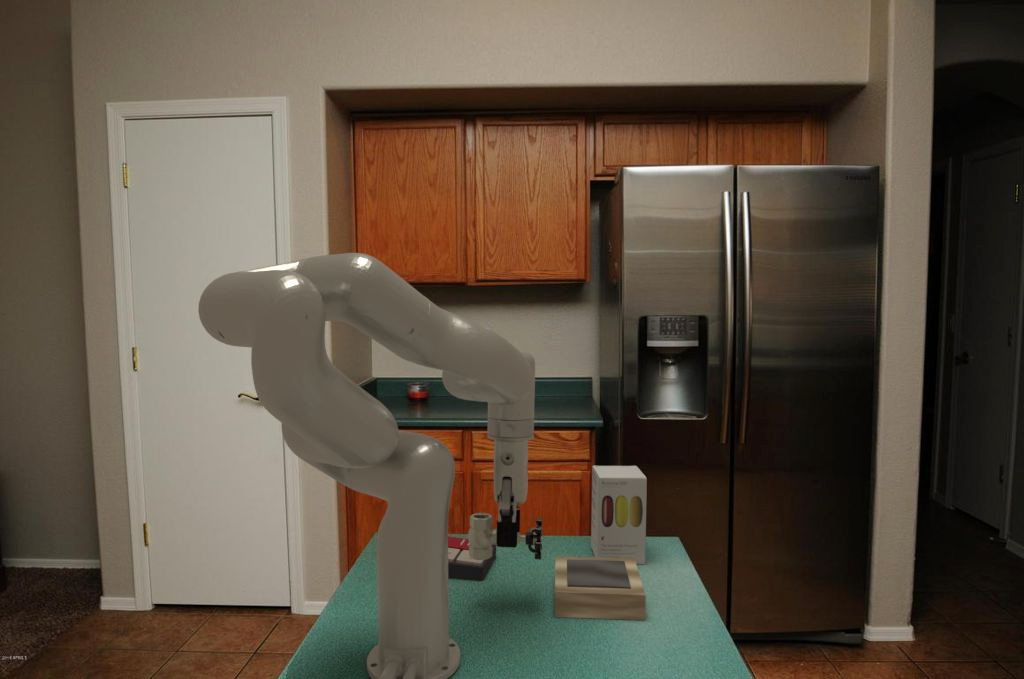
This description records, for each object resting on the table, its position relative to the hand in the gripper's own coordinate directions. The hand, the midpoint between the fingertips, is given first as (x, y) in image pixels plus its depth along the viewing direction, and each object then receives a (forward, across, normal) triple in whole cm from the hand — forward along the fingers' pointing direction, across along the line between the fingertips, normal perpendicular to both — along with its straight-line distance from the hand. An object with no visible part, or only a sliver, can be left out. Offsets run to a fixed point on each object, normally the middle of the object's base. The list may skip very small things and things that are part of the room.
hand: (508, 538), depth 99 cm
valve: (+3, 0, +1) cm, 3 cm away
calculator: (+11, +15, +12) cm, 22 cm away
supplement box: (+10, +22, -20) cm, 31 cm away
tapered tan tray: (+11, +4, -15) cm, 19 cm away
